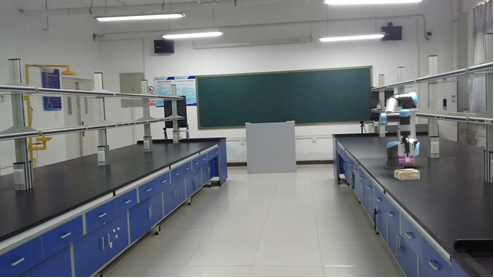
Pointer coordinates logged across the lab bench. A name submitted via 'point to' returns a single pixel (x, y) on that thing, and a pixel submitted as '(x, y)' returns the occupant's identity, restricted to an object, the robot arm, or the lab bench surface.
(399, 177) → the birch block
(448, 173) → the lab bench surface
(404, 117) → the robot arm
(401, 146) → the candy bar box
